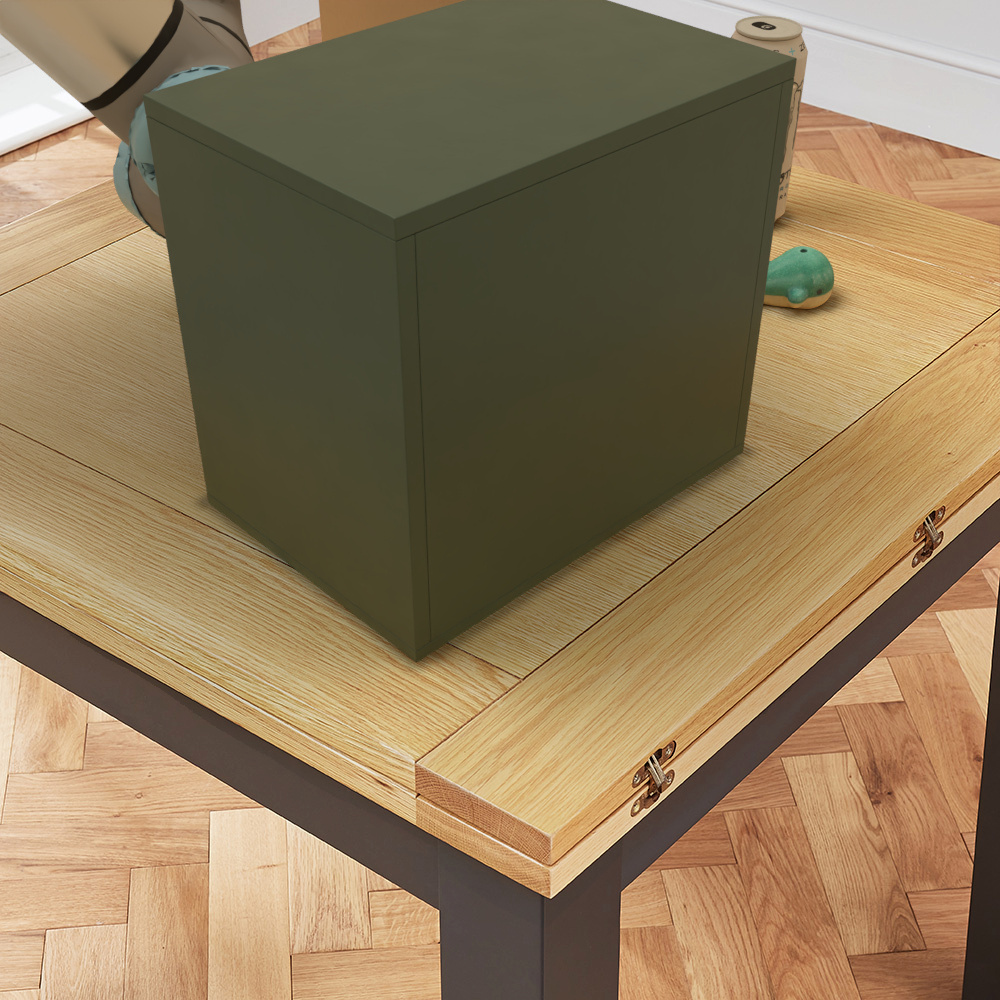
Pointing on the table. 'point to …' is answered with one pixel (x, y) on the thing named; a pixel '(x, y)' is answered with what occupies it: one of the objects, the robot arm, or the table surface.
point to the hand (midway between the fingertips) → (537, 374)
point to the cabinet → (469, 290)
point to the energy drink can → (789, 41)
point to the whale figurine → (799, 279)
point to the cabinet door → (368, 14)
